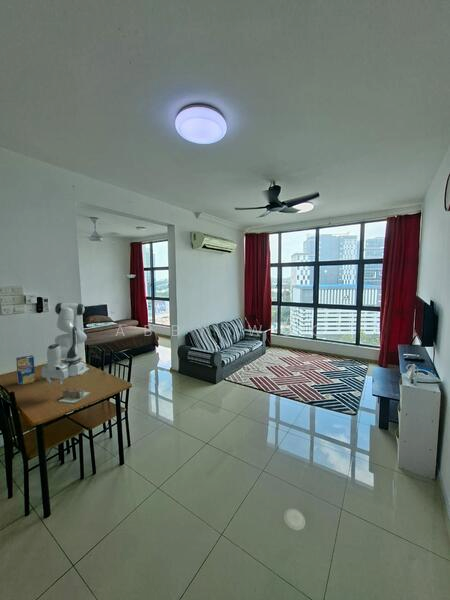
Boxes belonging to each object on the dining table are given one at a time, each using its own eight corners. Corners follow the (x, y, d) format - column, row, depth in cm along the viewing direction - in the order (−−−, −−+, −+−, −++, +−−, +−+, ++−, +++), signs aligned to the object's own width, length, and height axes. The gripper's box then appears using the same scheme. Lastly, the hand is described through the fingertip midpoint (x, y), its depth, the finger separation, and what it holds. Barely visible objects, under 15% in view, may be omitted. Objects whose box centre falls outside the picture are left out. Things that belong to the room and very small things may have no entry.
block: (68, 387, 187) (84, 389, 185) (68, 393, 187) (84, 395, 185) (62, 390, 182) (79, 392, 180) (63, 396, 182) (79, 398, 180)
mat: (75, 391, 193) (75, 390, 192) (90, 393, 190) (90, 392, 190) (58, 401, 177) (58, 400, 177) (75, 403, 175) (75, 402, 175)
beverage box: (35, 381, 210) (33, 356, 209) (18, 385, 202) (17, 359, 201) (33, 379, 215) (32, 355, 213) (17, 382, 207) (16, 357, 205)
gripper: (38, 366, 183) (39, 383, 184) (62, 368, 180) (63, 386, 181) (46, 363, 189) (46, 380, 190) (69, 365, 186) (69, 382, 187)
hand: (55, 383), depth 186 cm, fingers open, 8 cm apart
